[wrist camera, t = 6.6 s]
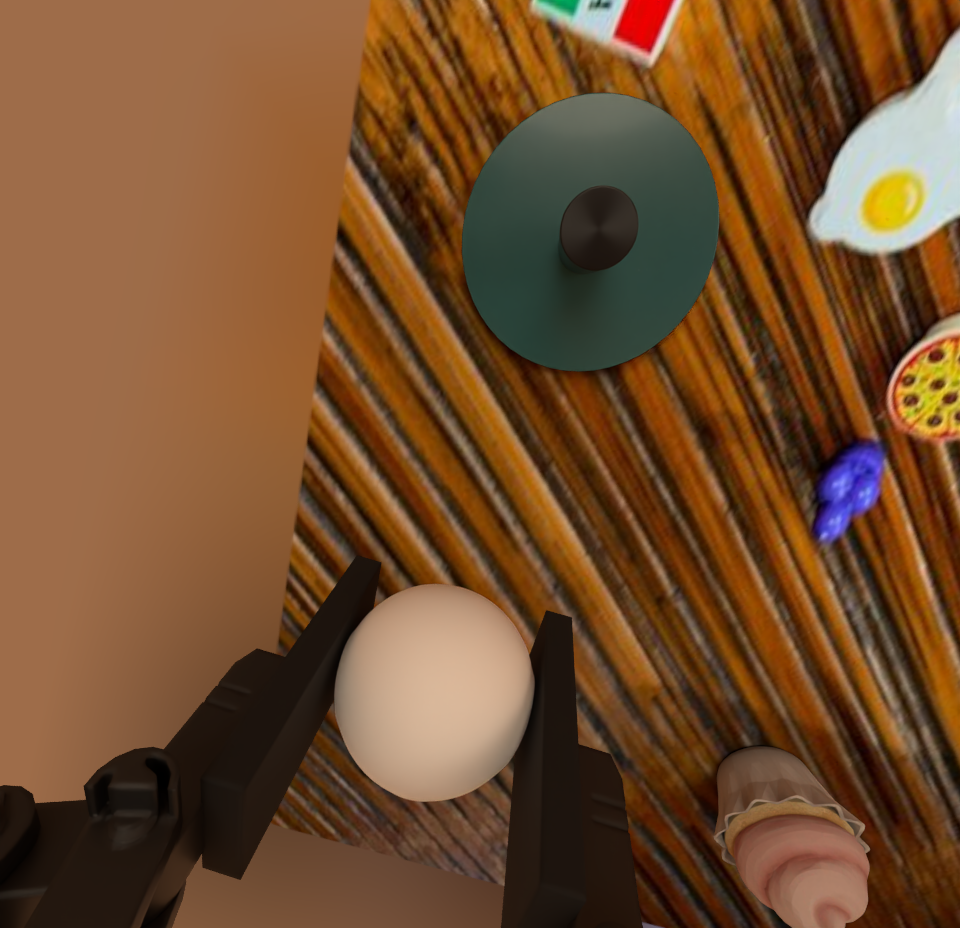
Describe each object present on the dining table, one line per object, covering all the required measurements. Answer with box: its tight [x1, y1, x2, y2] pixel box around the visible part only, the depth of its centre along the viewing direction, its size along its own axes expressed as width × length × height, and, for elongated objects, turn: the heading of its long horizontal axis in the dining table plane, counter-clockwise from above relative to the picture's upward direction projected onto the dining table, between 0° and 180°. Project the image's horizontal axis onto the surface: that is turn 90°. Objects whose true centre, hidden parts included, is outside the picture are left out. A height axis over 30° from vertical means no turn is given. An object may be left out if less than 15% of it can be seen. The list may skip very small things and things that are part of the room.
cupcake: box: [714, 746, 870, 928], centre depth 31 cm, size 9×9×10 cm
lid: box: [462, 93, 719, 372], centre depth 20 cm, size 12×12×9 cm
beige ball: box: [334, 584, 535, 802], centre depth 12 cm, size 5×5×5 cm
